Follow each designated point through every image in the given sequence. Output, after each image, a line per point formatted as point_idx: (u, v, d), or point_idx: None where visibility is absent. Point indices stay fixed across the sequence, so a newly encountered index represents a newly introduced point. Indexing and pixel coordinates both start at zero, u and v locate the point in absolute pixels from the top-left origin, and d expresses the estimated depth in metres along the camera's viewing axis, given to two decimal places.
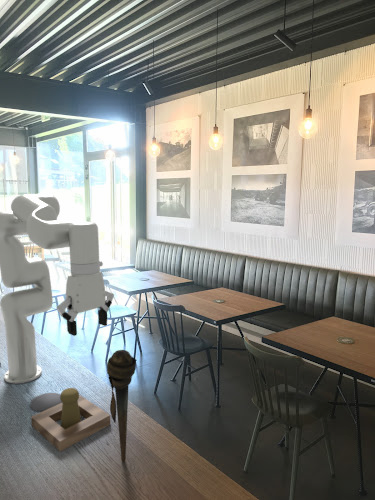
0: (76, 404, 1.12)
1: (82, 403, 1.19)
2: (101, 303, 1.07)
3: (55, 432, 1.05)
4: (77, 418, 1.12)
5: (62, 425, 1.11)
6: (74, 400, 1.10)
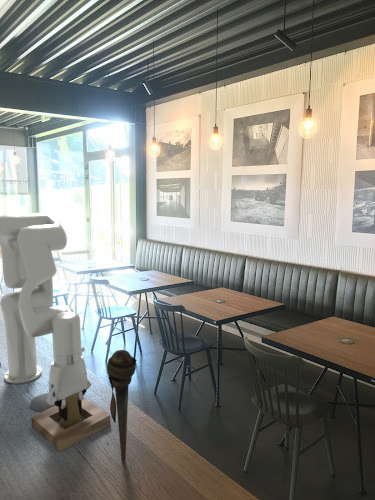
0: (76, 404, 1.12)
1: (82, 403, 1.19)
2: (83, 387, 1.13)
3: (55, 432, 1.05)
4: (77, 418, 1.12)
5: (62, 425, 1.11)
6: (74, 400, 1.10)
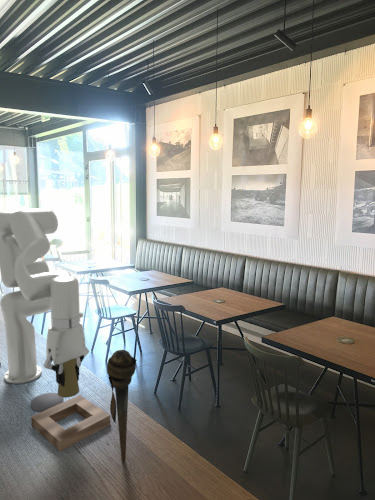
0: (74, 370, 1.10)
1: (82, 403, 1.19)
2: (81, 353, 1.11)
3: (55, 432, 1.05)
4: (75, 385, 1.11)
5: (59, 391, 1.10)
6: (72, 365, 1.09)
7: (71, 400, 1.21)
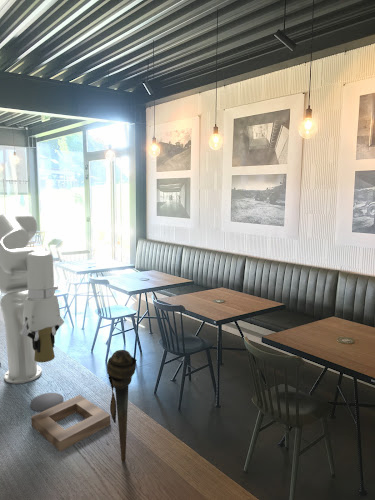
0: (49, 337, 1.20)
1: (82, 403, 1.19)
2: (55, 322, 1.21)
3: (55, 432, 1.05)
4: (50, 351, 1.21)
5: (35, 356, 1.20)
6: (47, 333, 1.19)
7: (71, 400, 1.21)
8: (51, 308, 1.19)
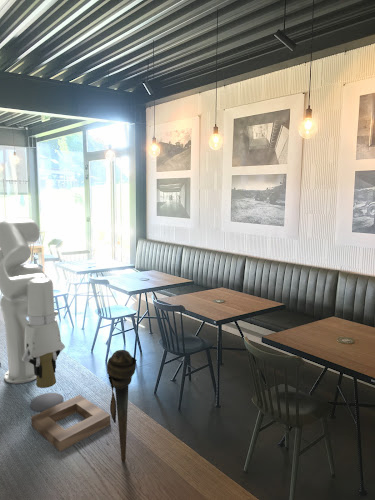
0: (50, 363, 1.22)
1: (82, 403, 1.19)
2: (56, 348, 1.23)
3: (55, 432, 1.05)
4: (51, 376, 1.22)
5: (37, 382, 1.21)
6: (48, 359, 1.20)
7: (71, 400, 1.21)
8: (52, 334, 1.20)
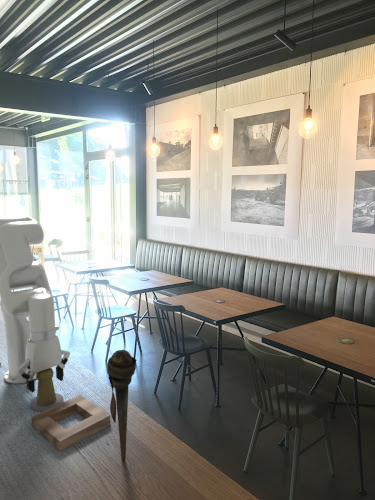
0: (50, 381, 1.23)
1: (82, 403, 1.19)
2: (57, 362, 1.24)
3: (55, 432, 1.05)
4: (51, 395, 1.23)
5: (37, 400, 1.23)
6: (48, 378, 1.21)
7: (71, 400, 1.21)
8: (52, 349, 1.21)
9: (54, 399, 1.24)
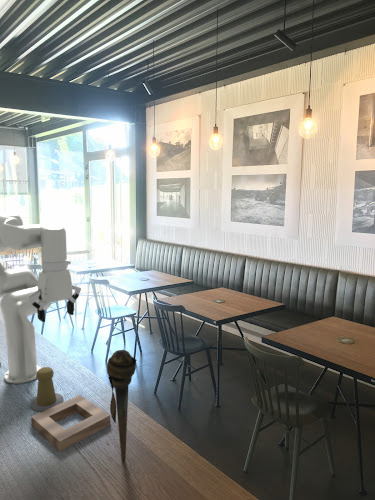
0: (50, 381, 1.23)
1: (82, 403, 1.19)
2: (68, 296, 1.26)
3: (55, 432, 1.05)
4: (51, 395, 1.23)
5: (37, 400, 1.23)
6: (48, 378, 1.21)
7: (71, 400, 1.21)
8: (63, 281, 1.24)
9: (54, 399, 1.24)
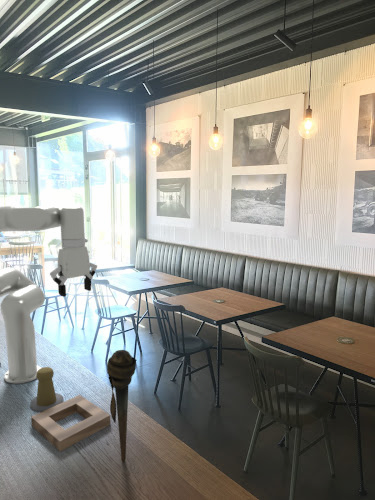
0: (50, 381, 1.23)
1: (82, 403, 1.19)
2: (86, 272, 1.33)
3: (55, 432, 1.05)
4: (51, 395, 1.23)
5: (38, 400, 1.23)
6: (48, 378, 1.21)
7: (71, 400, 1.21)
8: (82, 258, 1.31)
9: (54, 399, 1.24)
